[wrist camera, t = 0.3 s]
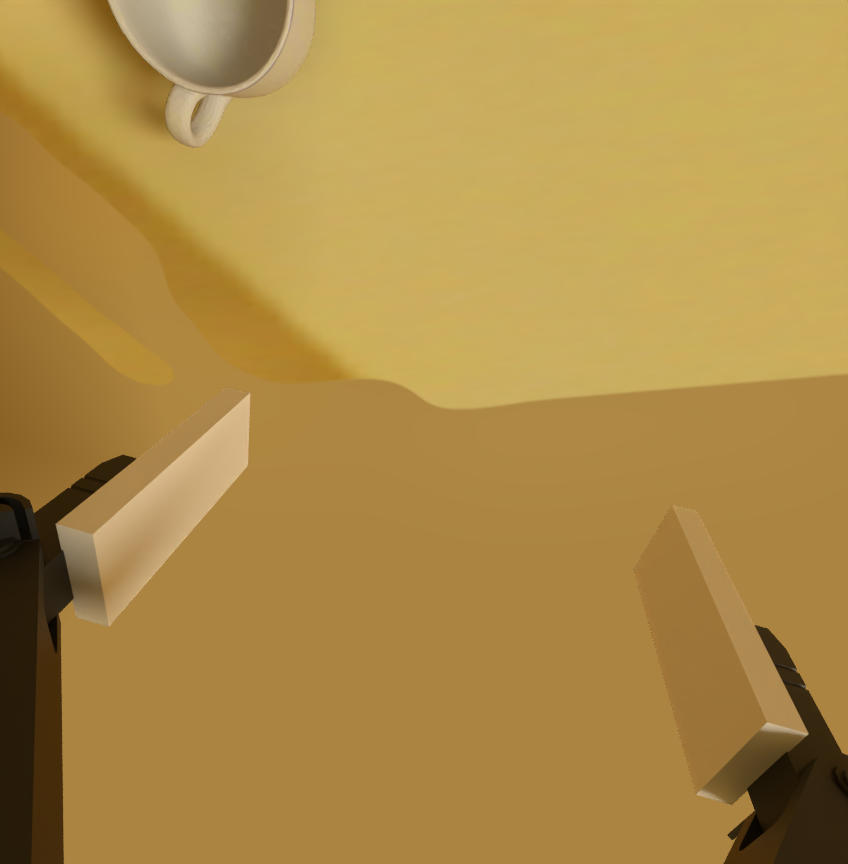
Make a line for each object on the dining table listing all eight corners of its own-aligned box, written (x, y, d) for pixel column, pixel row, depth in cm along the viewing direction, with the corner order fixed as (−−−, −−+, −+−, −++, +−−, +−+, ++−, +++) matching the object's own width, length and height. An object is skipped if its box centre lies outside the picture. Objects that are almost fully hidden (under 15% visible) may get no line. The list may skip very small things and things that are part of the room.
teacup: (215, -149, 30) (126, -238, 23) (365, -21, 32) (323, -70, 25) (146, 84, 37) (60, 68, 30) (273, 180, 39) (220, 185, 32)
